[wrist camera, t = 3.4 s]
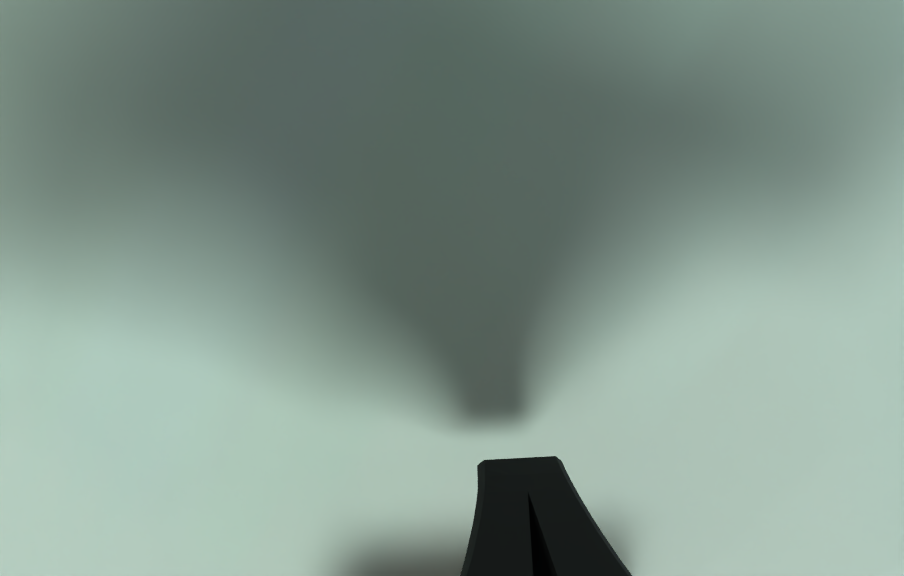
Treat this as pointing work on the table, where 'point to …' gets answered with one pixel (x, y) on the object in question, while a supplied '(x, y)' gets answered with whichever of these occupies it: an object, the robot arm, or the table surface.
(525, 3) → the table surface
